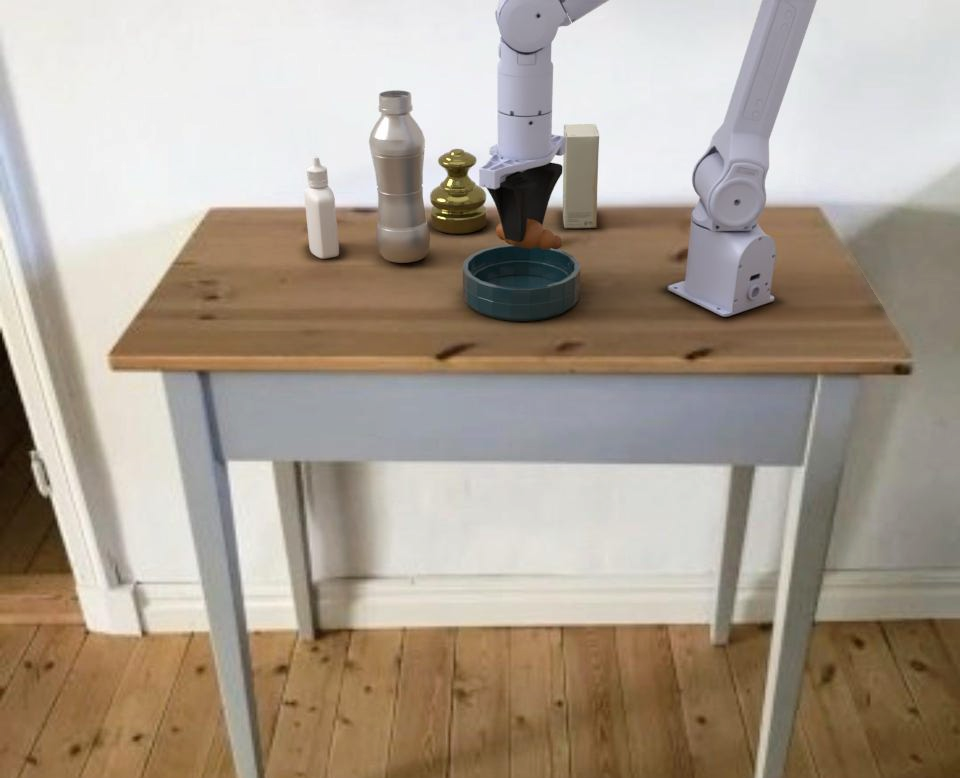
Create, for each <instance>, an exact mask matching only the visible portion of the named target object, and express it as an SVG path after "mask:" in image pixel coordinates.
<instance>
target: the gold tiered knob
mask: <svg viewBox="0 0 960 778" xmlns="http://www.w3.org/2000/svg"><path fill="white" fill-rule="evenodd" d="M477 162H478V161H477V157H476V156H475V155H474V154H472V153H471V152H467V151H465V150H464V149H462V148H454V149H451V150H450V151H448V152H446V153H444V154H441V155H440V156H439V157H438V159H437V163H438V165H439V166H440V167H441V168H443V169H444V170H445V171H446V174H447V176H446V177H445V178H444V180H443V181H441V182H440V183H439V185H438V186H436V187H434V188H433V189H432V190H431V192H430V194H429V200H430V203H431V205H432V207H431V208H430V220H431V221H430V225H431V226H432V228H433V229H435V230H436V231H438V232H441V233H445V234H450V235H451V234H452V235H461V234H462V235H464V234H471V233H475V232H478V231H480V230H482V229H483V228H484V227H486V225H487V207H486V206H485V203H486V201H487V192H486V190H485V189H484V188H483V187H481V186H479V184H478V185H477V183H476V182H475V181H474V180H472V179H471V177H470V176H469V172H470V170H471V169H472V167H474V166H475V165H476V164H477Z"/></svg>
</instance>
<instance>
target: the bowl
mask: <svg viewBox="0 0 960 778" xmlns="http://www.w3.org/2000/svg"><path fill="white" fill-rule="evenodd" d="M580 264H581V263H580V261H579V260H578V259H577V258H576V257H575V256H574V255H572V254H570V253H569V252H566V251H564V250H562V249H560V248H559V249H553V248H550V249H548V250H543V249H541V248H539V247H536V248H534V249H527V248H522V247H518V246H514V245H510V244H503V245H496V246H495V245H494V246H491V247H487V248H484V249H481V250H478V251H477V252H473V253H472V254H470V255H469V256H468V257H467V258H466V259H465V260H464V261H463V264H462V298H463V300H464V301H465V302H466V304H467V305H468V306H469V307H471V308H472V309H473V310H475V311H476V312H477V313H479V314H481V315H483V316H486V317H488V318H492V319H497V320H503V321H511V322H533V321H539V320H547V319H550V318H554V317H557V316H559V315H561V314H563V313H565V312H567V311H569V309H571V308H572V307H574V306H575V304H576V303H577V301H578V300H579V299H580V287H581V286H580V285H581V284H580V283H581V265H580Z"/></svg>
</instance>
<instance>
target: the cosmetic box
mask: <svg viewBox="0 0 960 778" xmlns="http://www.w3.org/2000/svg"><path fill="white" fill-rule="evenodd" d="M563 136H565V137H566V149H565V154H564V155H563V159H562V160H563V163H562V166H563V168H562V220H563V226H564V227H563V228H564V229H595V228H597V217H598V181H599V180H598V178H599V152H600V150H599V149H600V132H599V129H598V126H597V124H596V123H588V124H587V123H585V124H583V123H582V124H579V123H578V124H575V123H574V124H563Z"/></svg>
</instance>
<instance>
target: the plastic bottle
mask: <svg viewBox="0 0 960 778" xmlns="http://www.w3.org/2000/svg"><path fill="white" fill-rule="evenodd" d="M413 107H414V106H413V103H412V92H410V91H407V90H401V89H400V90H399V89H398V90H395V89H394V90H386V91H382V92H380V93H379V94H378V112H379V113H381V114H380V117H379V119H377V121H376V122H375V124H374V126H373V128H372V130H370V135H369V138H368V144H369V150H370V155H371V159H372V164H373V169H374V173H375V181H376V186H377V189H376V190H377V203H378V204H377V224H376V230H375V231H376V233H375V243H376V247H377V250H378V253H379V254H380V255H381V257H382V258H383V259H385V260H386V261H388V262H392V263H398V264H399V263H401V264H402V263H403V264H404V263H414V262H417V261H420V260H422V259H424V258H425V257H426V256H427V254H428V253H429V252H430V251H429V250H430V245H431V244H430V243H431V234H430V229H429V228H430V227H429V224H428V221H427V218H426V217H427V216H426V210H425V205H424V204H425V203H424V194H423V193H424V192H423V191H424V190H423V189H424V188H423V184H424V181H423V180H424V178H423V177H424V175H423V174H424V173H423V172H424V161H425V148H426V139H425V136H424V133H423V130H422V129H421V127H420V125H419V124H418V122H416V120H415V119H414V117H413V116H412V115H411V112H412V111H413V110H414V109H413Z"/></svg>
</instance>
